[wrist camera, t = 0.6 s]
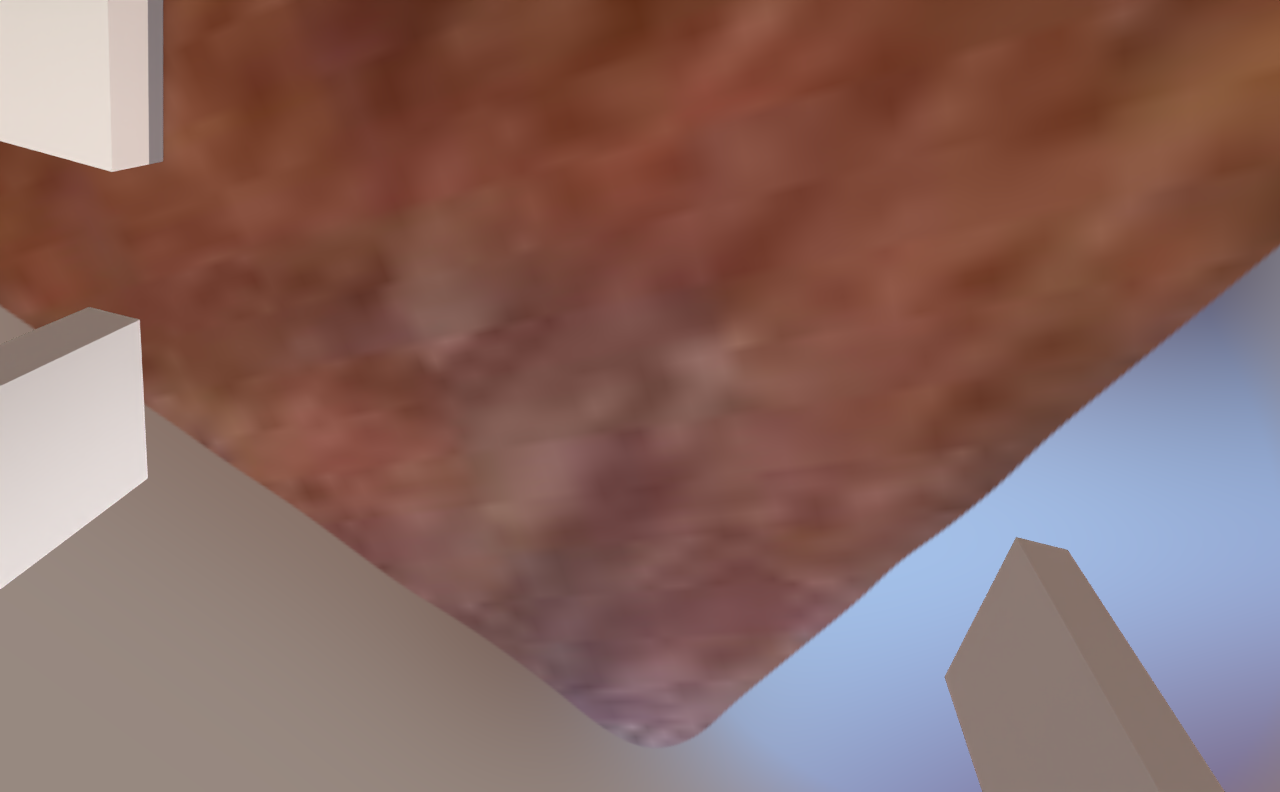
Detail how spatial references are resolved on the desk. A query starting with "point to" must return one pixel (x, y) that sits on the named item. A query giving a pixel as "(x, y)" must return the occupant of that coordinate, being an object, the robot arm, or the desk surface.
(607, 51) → the desk surface
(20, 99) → the console
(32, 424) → the robot arm
